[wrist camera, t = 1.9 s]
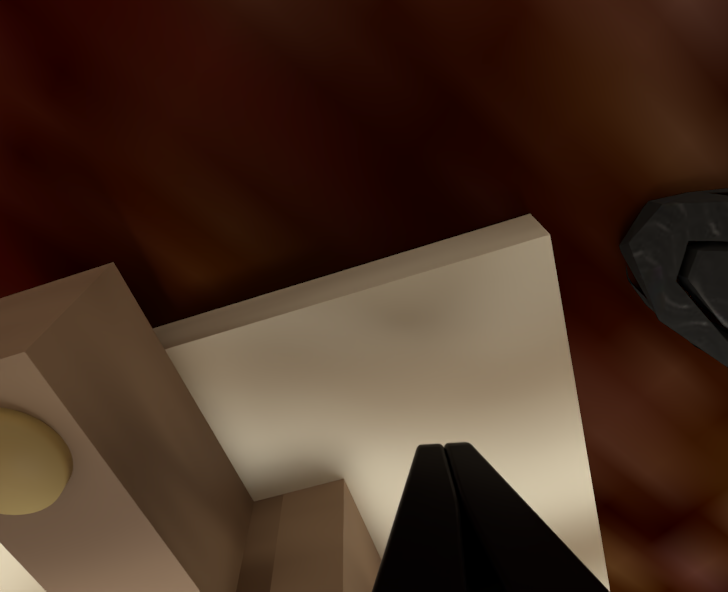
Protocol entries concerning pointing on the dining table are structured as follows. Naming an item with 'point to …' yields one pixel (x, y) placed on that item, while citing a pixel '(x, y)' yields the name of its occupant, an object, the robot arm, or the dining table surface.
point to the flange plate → (142, 465)
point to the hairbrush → (684, 265)
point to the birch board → (397, 381)
